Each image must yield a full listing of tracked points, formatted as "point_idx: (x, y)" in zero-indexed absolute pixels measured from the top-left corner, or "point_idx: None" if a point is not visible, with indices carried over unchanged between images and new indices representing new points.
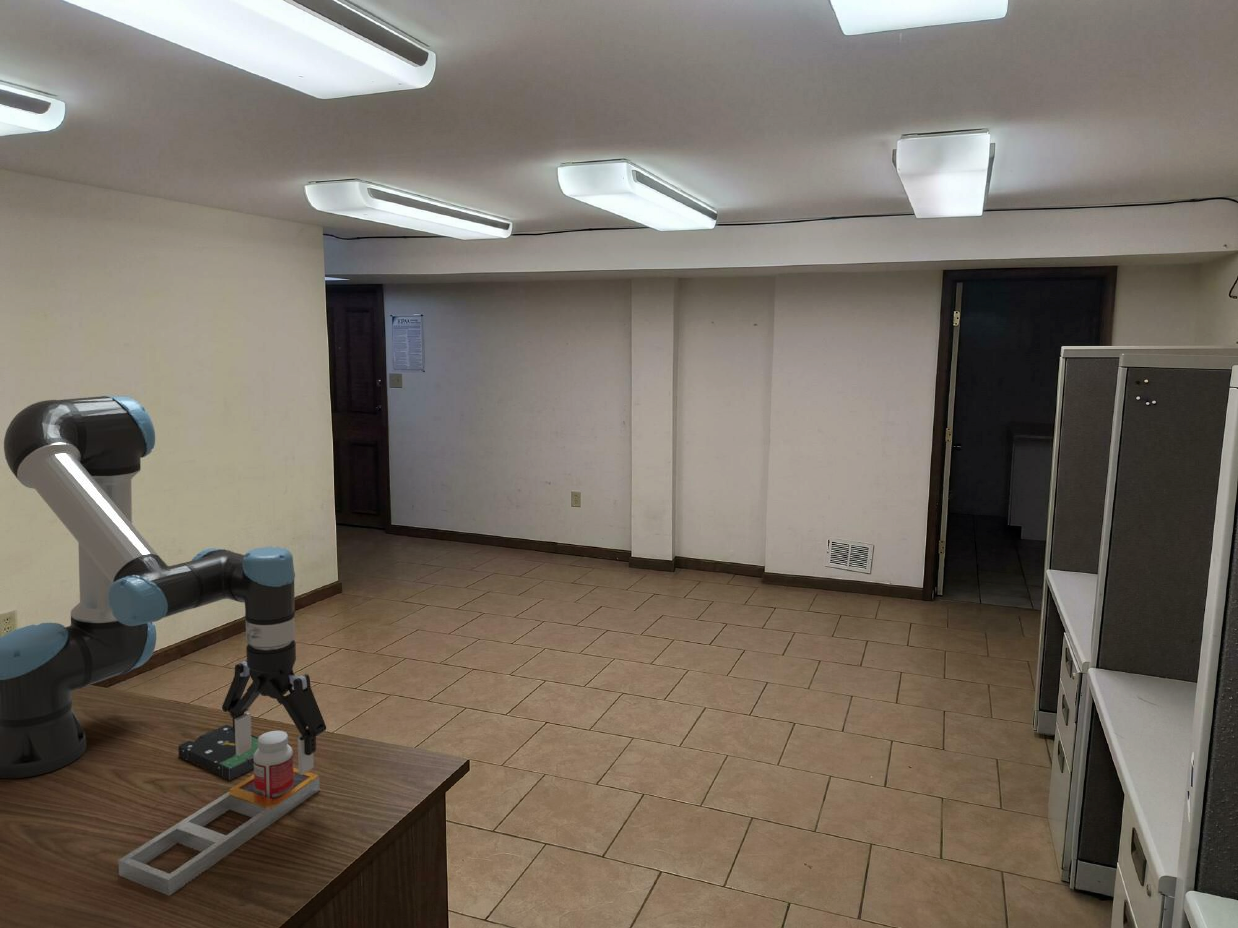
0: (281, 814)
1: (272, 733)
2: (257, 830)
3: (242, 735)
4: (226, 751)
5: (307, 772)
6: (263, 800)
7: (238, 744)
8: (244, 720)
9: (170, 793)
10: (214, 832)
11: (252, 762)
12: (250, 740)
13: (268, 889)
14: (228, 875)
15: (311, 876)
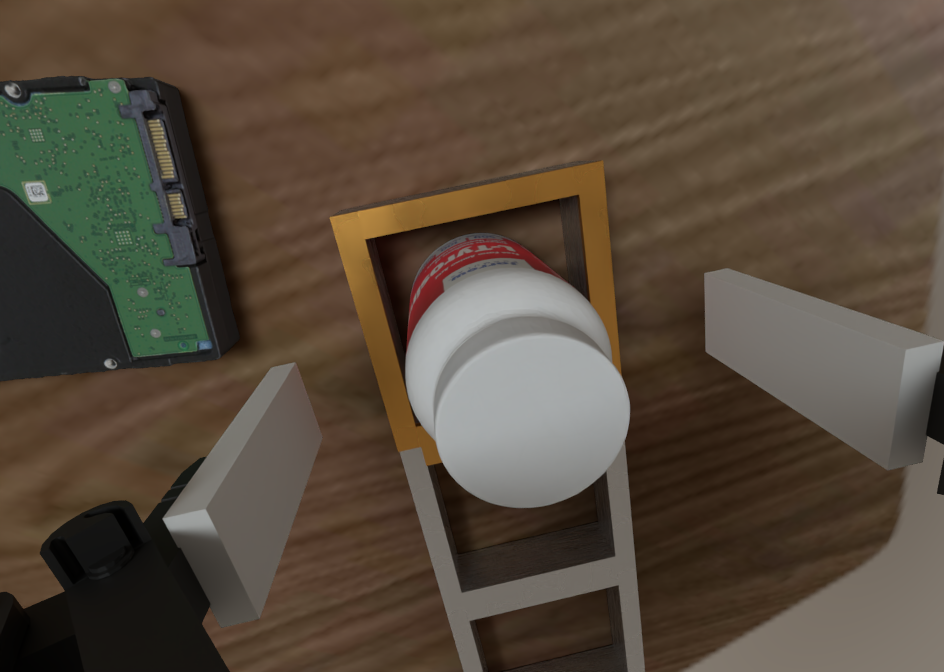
0: None
1: (483, 399)
2: None
3: (288, 479)
4: (35, 285)
5: (539, 179)
6: None
7: (306, 475)
8: (248, 538)
9: None
10: (575, 569)
11: (199, 238)
12: (285, 391)
13: (802, 526)
14: (683, 557)
15: None
